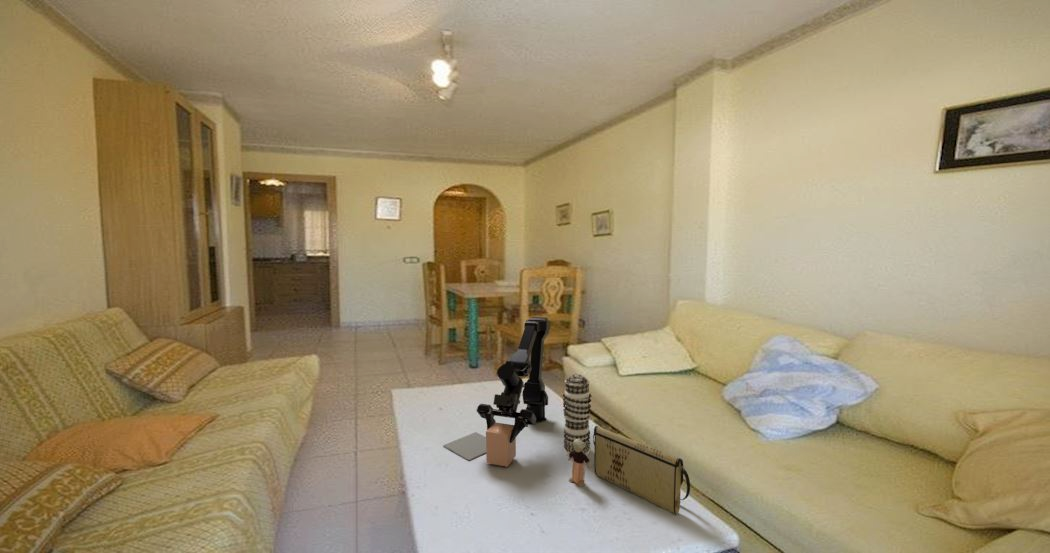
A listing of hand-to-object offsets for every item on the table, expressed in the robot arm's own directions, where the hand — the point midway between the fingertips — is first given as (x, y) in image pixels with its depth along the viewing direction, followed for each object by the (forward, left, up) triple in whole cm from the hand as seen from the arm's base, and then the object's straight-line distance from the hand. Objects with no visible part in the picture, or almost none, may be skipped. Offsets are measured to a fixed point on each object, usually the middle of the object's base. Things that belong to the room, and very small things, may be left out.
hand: (499, 440), depth 136 cm
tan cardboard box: (-1, -1, -7) cm, 7 cm away
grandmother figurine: (-17, +19, -8) cm, 27 cm away
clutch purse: (-30, +29, -8) cm, 42 cm away
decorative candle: (-26, +3, -8) cm, 27 cm away
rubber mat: (+4, -15, -7) cm, 17 cm away
